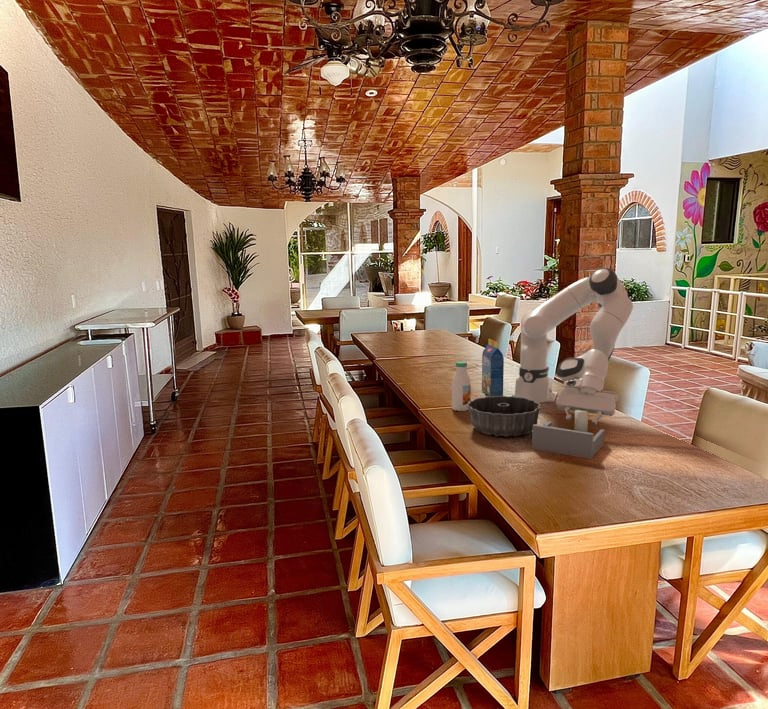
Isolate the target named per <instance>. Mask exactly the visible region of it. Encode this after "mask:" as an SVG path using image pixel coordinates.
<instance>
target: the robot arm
mask: <svg viewBox="0 0 768 709" xmlns="http://www.w3.org/2000/svg"><path fill="white" fill-rule="evenodd" d="M592 303H597V304H598V305H597V306H598V307H599V309H598V311H597V312H596V314H594V316H593V317H592V320H591V321H590V322H591V323H590V324H589V325H590V326H589V332H590V336H591V339H592V343H593V349H589V350H587V351H586V352H585V353H584V354H582V355H579V356H576V357H567V358H565V359H563V360H562V361H561V362H560V363H559V364H558V365H557V369H556V370H557V371H556V373H557V374H556V375H557V376H558V377H559V378H560V380H561V381H562V382H563V387H562V388H561V389H560V390H559V393H558V392H557V391H554V390H553V381H552V380H551V379H550V378H549V369H550V367H549V366H547V358H548V333H549V332H552V330H553V329H555V328H556V327H557V326H559V325H560V324H561V323H563V322H564V321H565V320H568V319H569V317H571V316H573V315H575V314H576V313H577V312H579V311H581V310H582V309H584V308H585V307H586V306H588V305H590V304H592ZM633 308H634V305H633V302H632V300H631V299H630V295H629V294H628V292H627V290H626V288H625V286H624V284H623V283H622V281H621V280H620V278H619V277H618V276H617V273H616V272H615V271H614V270H612V269H611V268H609V267H602V268H601V267H600V268H599V269H596V270H595V271H593V272H592V274H591V275H590V276H586V277H583V278H581V279H579V280H577V281H575V282H573V283H571V284H570V285H567V287H564V288H563V289H562V290H560V291H559V292H557V293H555V294H554V295H553V296H551V297H549V298H548V299H547V300H546V301H545V302H544V303H542V304H541V305H539V306H538V307H536V308H535V309H530V310H528V311H526V312H525V313H524V314H523V315H522V317H521V320H520V321H521V322H520V364H519V365H520V367H519V368H518V375H519V376H518V377H517V378H516V380H515V387H514V388H515V389H514V393H512V394H511V396H514V397H521V398H527V399H530V400H534V401H535V402H537V403H539V404H541V403H553V402H555V405H556V407H557V408H558V410H563V411H565V415H566V416H565V420H566V421H572V417H573V416H572V414H570V413H571V412H575V410H577V409H584V410H587V411H588V414H593V415H596V416H595V417H592V419H591V424H592V425H597V424H598V421H599V420H601V419H602V418H603V416H609V417H612V416H614V415H615V413H616V407H617V406H616V403H617V402H618V401H619V394H618V393H617V392H616V391H615V390H613V391H612V390H611V391H609V390H604V386H605V378H606V377H607V373H608V368H609V361H610V359H611V357H612V355H613V353H614V351H615V345H616V342H617V339H618V336H619V334H620V332H621V330H622V329H623V328H624V326H625V324H626V323H627V322H628V320H629V318H630V316H631V314H632V311H633Z"/></svg>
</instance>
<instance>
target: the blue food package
mask: <svg viewBox="0 0 768 709" xmlns="http://www.w3.org/2000/svg"><path fill="white" fill-rule="evenodd" d="M498 345H499V344H498V341H495V340H494V339H491V338H488V344H487V345H486V346H485V348H483V350H482V355H481V357H482V358H481V391H482V392H483V394H485V395H486V394H487V395H486V396H487V397H492V396H504V368H505V367H504V366H505V365H504V362H505V361H504V360H505V359H504V355H503V352H502V351H500V349H499V348H498V347H499V346H498Z"/></svg>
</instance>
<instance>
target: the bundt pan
mask: <svg viewBox="0 0 768 709" xmlns="http://www.w3.org/2000/svg"><path fill="white" fill-rule="evenodd" d="M467 407H468V408H469V410H468V413H469V418H470V423H471V424H472V426H473V427H474V429H475V430H476V431H477V432H479V433H481V434H482V433H483V434H485V435H489V436H492V435H494V437H496V438H498V437H499V436H503V437H504V438H505V437H506V438H507V437H511V436H513V437H516V438H517V437H519V436H520V435H522V436H524V435H526V434H528V433H531V432H532V430H533V425H534V424H536V425H538V419H539V413H540V410H541V409H542V408H541V403H537V402H535V401H534V400H530V399H527V398H521V397H514V396H512V395H511V396H510V395H509V396H506V395H503V396H492V397H490V396H484V397H478V398H474V399H471V401H469V402H468V404H467Z"/></svg>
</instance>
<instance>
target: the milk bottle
mask: <svg viewBox="0 0 768 709" xmlns="http://www.w3.org/2000/svg"><path fill="white" fill-rule="evenodd" d="M467 367H468V362H467V361H462V360H461V361H455V369H456V370H455V372H454V375H453V377H452V381H451V409H452V410H453V411H456V410H457V411H458V412H467V410H468V411H469V408H468V407H467V404H468V402H469V401H472V398H471V396H472V394H471V393H472V392H471V391H472V390H471V388H472V387H471V386H472V385H471V379H470V376H469V373H468V371H467Z"/></svg>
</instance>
